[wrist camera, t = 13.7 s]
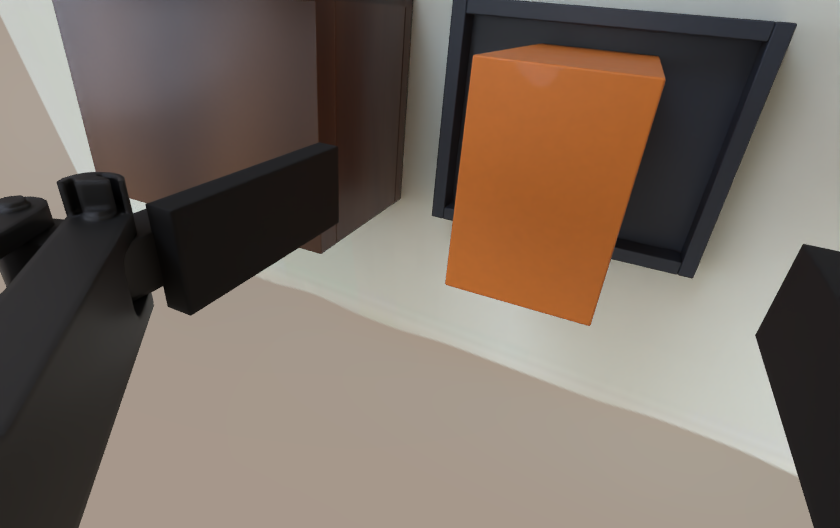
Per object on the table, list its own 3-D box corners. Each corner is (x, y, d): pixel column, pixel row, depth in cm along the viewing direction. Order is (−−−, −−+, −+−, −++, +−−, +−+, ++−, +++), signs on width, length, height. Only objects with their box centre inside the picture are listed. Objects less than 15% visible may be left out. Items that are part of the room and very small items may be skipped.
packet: (659, 56, 24) (666, 77, 14) (610, 221, 28) (590, 327, 18) (540, 43, 26) (472, 54, 16) (511, 199, 30) (444, 285, 20)
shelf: (414, -11, 28) (70, -65, 11) (400, 199, 34) (167, 362, 17) (191, -29, 33) (-262, -83, 17) (215, 155, 39) (-98, 248, 23)
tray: (786, 23, 22) (798, 23, 20) (690, 263, 28) (693, 279, 26) (465, -3, 27) (453, -5, 25) (442, 206, 33) (431, 216, 31)
